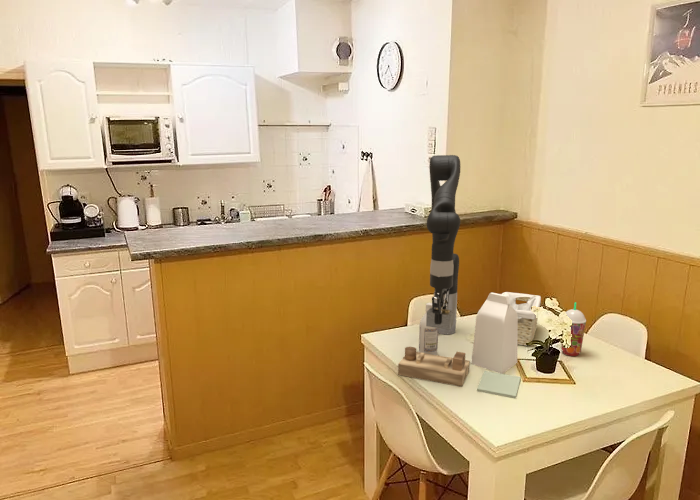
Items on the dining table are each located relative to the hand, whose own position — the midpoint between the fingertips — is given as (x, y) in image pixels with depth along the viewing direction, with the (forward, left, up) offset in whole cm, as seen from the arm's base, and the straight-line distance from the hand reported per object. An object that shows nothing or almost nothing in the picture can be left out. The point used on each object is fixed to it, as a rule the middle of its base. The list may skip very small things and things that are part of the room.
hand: (440, 320), depth 174 cm
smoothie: (-36, +41, -20) cm, 58 cm away
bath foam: (-14, -8, -20) cm, 25 cm away
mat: (0, +20, -19) cm, 28 cm away
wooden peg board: (0, -2, -19) cm, 19 cm away
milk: (-16, +16, -20) cm, 30 cm away
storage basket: (-47, +20, -20) cm, 55 cm away
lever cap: (0, 0, -2) cm, 2 cm away
